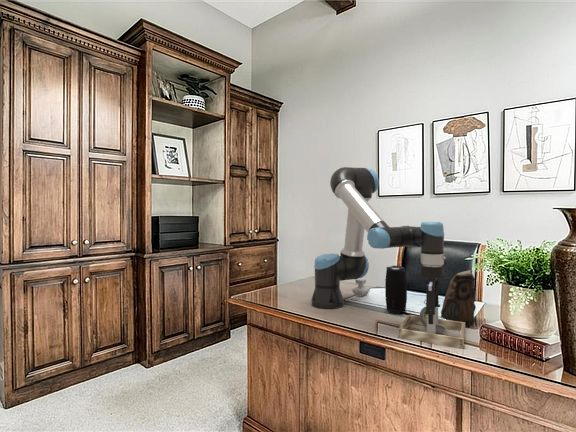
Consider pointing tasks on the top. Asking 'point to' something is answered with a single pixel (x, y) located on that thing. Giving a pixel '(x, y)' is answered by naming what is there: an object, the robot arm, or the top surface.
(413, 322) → the box
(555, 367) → the top surface
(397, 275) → the portable speaker
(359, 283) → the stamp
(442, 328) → the pocket watch
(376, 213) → the robot arm
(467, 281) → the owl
